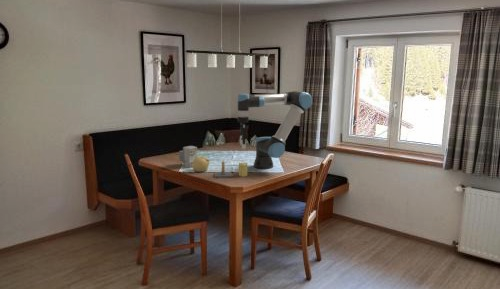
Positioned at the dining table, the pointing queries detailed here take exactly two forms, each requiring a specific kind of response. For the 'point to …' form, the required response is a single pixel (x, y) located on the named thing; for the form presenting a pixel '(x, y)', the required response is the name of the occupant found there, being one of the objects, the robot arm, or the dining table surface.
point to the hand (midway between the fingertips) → (242, 146)
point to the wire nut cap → (242, 169)
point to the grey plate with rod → (223, 173)
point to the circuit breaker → (188, 155)
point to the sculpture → (200, 164)
